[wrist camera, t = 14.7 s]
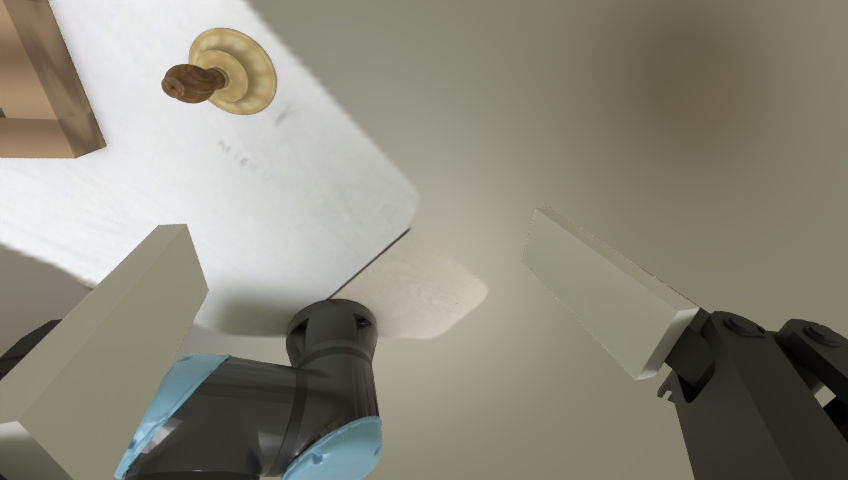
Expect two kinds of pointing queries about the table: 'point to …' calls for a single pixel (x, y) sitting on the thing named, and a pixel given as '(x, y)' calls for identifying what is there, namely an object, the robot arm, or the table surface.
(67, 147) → the square wooden frame
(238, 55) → the hand bell
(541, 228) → the robot arm
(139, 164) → the table surface
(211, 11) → the table surface
